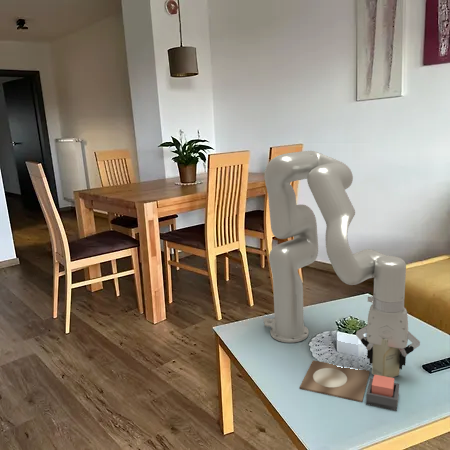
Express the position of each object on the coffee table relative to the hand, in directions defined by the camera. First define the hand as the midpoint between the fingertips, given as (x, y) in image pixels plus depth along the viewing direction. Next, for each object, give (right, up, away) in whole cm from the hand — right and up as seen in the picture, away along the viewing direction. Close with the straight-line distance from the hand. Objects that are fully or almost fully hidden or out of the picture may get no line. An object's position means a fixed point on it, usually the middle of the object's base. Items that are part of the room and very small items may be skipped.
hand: (386, 363), depth 116 cm
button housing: (-4, -6, -9) cm, 12 cm away
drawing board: (-14, -5, 0) cm, 15 cm away
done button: (-4, -4, -10) cm, 11 cm away
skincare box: (0, -3, +1) cm, 3 cm away
